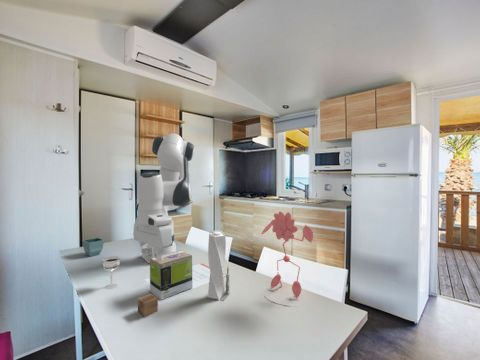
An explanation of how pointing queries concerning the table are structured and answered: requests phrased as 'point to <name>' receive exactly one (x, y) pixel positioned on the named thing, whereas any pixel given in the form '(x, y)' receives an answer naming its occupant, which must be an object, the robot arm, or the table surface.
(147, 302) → the walnut cube
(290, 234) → the figurine
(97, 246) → the flower pot
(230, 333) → the table surface
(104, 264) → the wineglass
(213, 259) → the skyscraper
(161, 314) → the table surface
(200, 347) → the table surface
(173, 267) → the tea box
